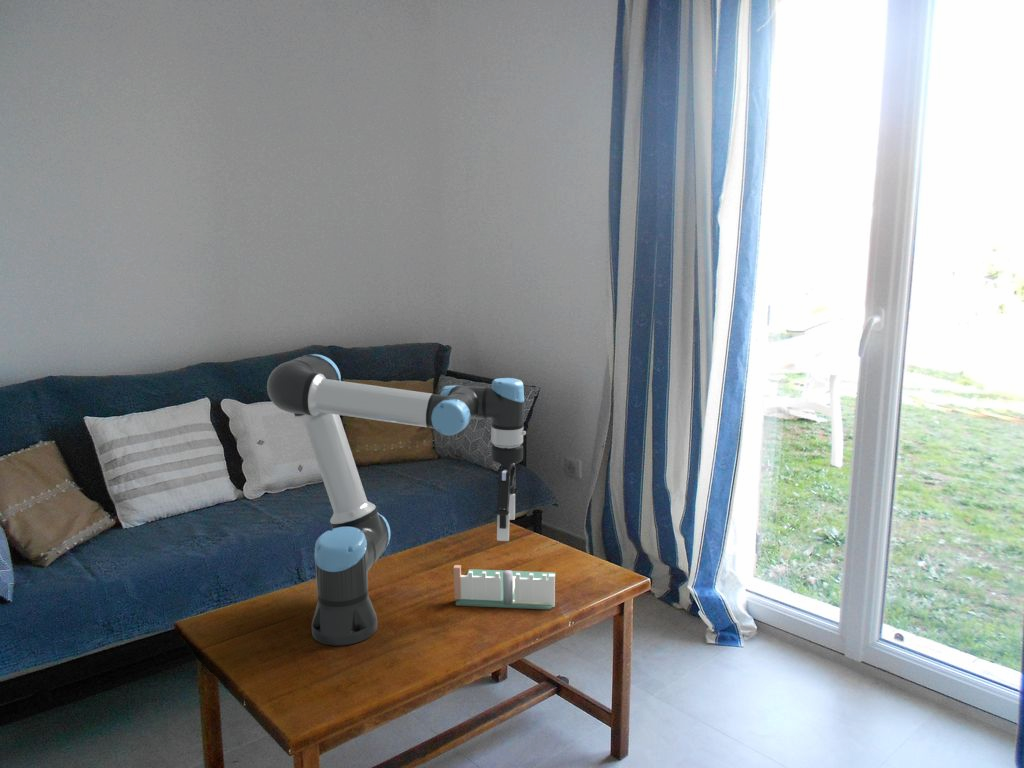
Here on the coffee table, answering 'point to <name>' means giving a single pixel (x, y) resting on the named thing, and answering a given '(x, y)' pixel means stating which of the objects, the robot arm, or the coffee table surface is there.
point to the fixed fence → (529, 588)
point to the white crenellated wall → (476, 586)
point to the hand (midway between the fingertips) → (506, 529)
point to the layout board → (500, 603)
